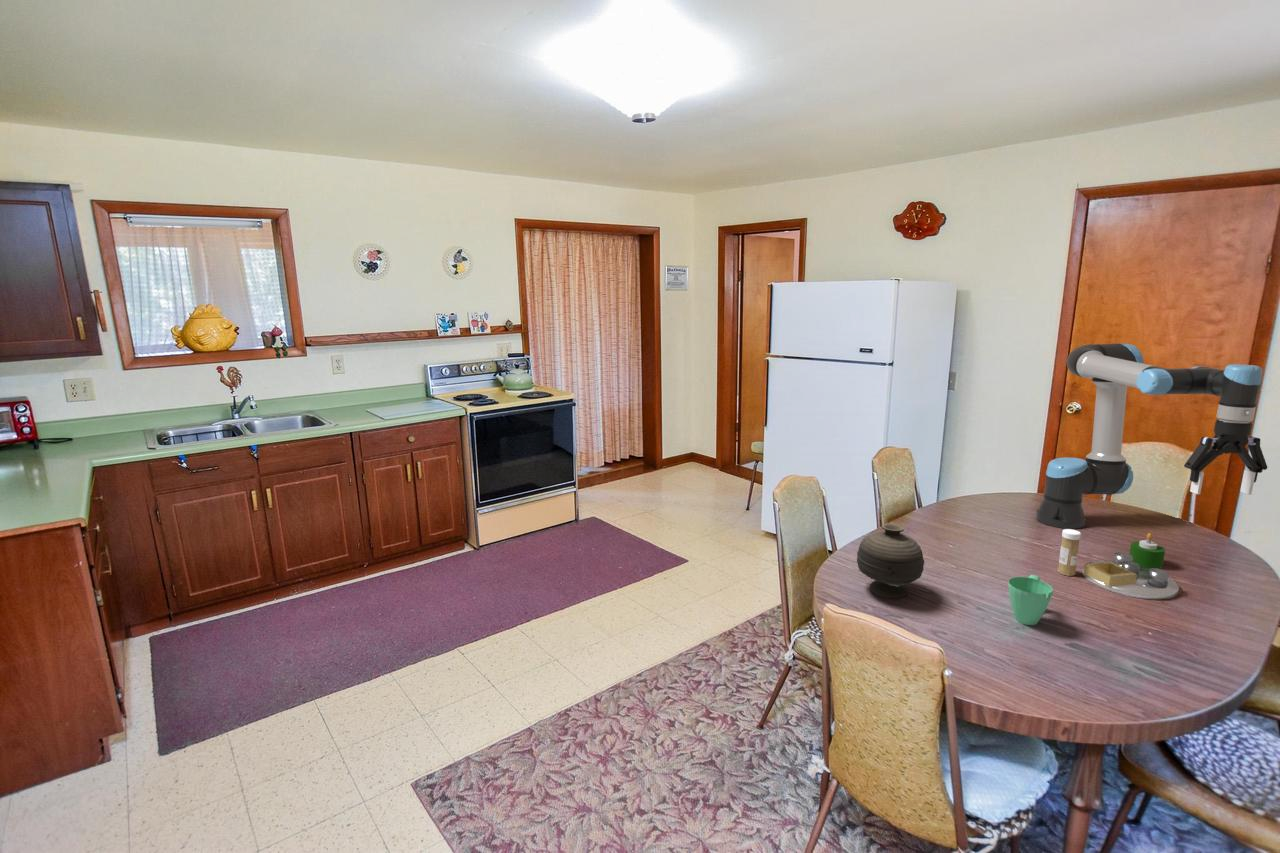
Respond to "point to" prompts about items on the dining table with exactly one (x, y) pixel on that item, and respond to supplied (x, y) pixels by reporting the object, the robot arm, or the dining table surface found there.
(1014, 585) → the mug
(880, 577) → the pot
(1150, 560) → the candle
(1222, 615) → the dining table surface
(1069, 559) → the sprinkles bottle
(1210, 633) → the dining table surface
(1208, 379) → the robot arm
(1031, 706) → the dining table surface
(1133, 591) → the carrier
